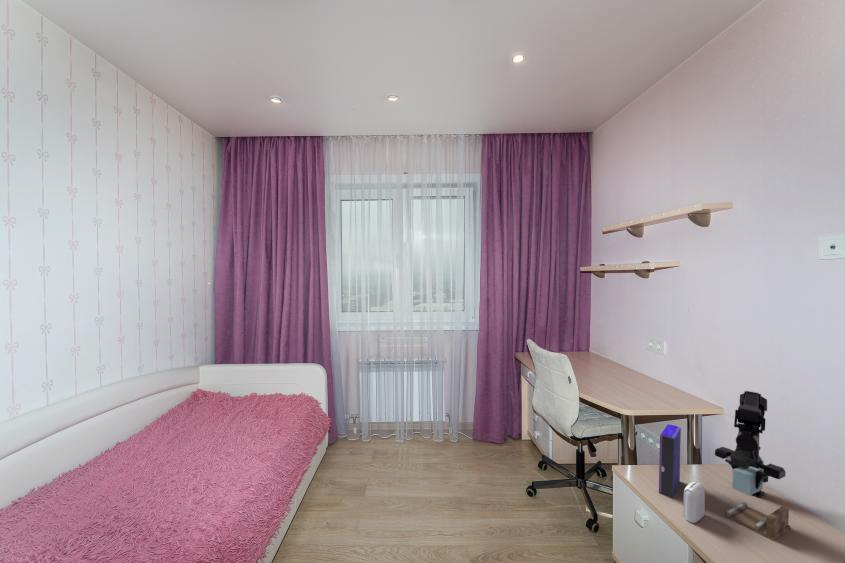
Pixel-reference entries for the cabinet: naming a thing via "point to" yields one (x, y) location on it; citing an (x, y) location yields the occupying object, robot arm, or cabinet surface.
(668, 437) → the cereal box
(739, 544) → the cabinet surface
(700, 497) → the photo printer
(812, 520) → the cabinet surface
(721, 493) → the cabinet surface
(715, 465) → the cabinet surface
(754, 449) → the robot arm
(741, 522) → the cleat stand
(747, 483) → the light blue block
